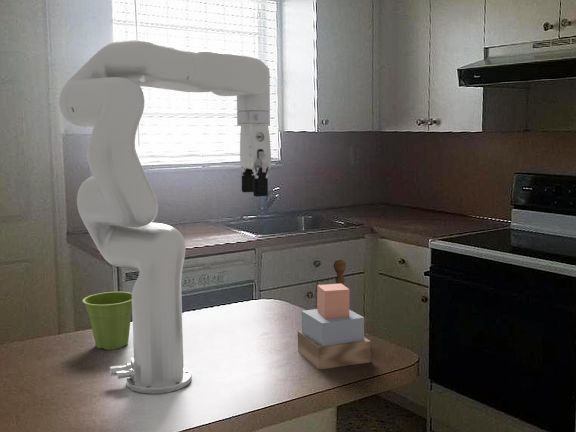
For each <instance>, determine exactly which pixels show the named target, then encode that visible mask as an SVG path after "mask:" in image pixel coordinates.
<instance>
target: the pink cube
mask: <svg viewBox="0 0 576 432" xmlns="http://www.w3.org/2000/svg"><path fill="white" fill-rule="evenodd" d="M316 287H317V289H316V290H317V291H316V293H317V294H316V296H317V297H316V299H317V300H316V305H317V306H316V309H317V312H318V313H319V314H320V315H321V316H322V317H323V318H324V319H330V318H342V317H349V310H350V300H351V299H350V293H351V290H350V289H349V287H347V286H345V284H344V285H343V284H336V283H329V284H326V283H325V284H318V285H316Z"/></svg>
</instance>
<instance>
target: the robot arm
mask: <svg viewBox="0 0 576 432" xmlns="http://www.w3.org/2000/svg"><path fill="white" fill-rule="evenodd" d="M270 74H271V73H270V69H269V66H268V65H266V63H264V62H263V61H262V60H261V59H259V58H256V57H252V56H247V55H243V54H235V53H229V52H228V53H227V52H221V51H220V52H218V51H212V50H208V49H196V48H195V49H194V48H189V47H184V46H180V45H176V44H171V43H166V42H162V41H157V40H154V39H153V40H152V39H134V40H133V39H132V40H124V41H115V42H111V43H108V44H106V45H105V46H103V47H102V48H100V49H99V50H98V51H97V52H96V53H94V54H93V55H92V56H91V57H90V59H89V60H87V61H86V62H85V63H84V65H83V66H81V67H80V68H79V69H78V70H77V71H76V72H75V73H74V74H73V75H72V76H71V77H70V78H69V79H68V80H67V81H66V82H65V84H64V85H63V86H62V87H61V90H60V92H59V97H58V107H59V110H60V113H61V114H62V117H63V118H64V119H65V120H66V121H68V122H69V123H70V124H72V125H74V126H76V127H83V128H85V127H87V128H89V127H91V128H92V127H93V128H92V131H91V134H90V138H89V142H88V144H87V149H86V159H87V164H88V168H89V170H90V172H91V175H92V176H89V177H87V179H85V180H84V181H83V182H82V183H81V184H80V186H79V188H78V191H77V195H76V196H77V197H76V206H77V211H78V214H79V217H80V218H81V221H82V222H83V225H84V227H85V228H86V230H87V232H88V233H89V235H90V238H91V239H92V240H93V242H94V244H95V246H96V248H97V249H98V252H99V253H100V254H101V256H102V257H103V258H104V260H105V261H106V262H107V263H108V264H109V265H112V266H114V267H117V268H122V269H127V270H132V271H136V272H139V273H138V276H137V279H136V281H135V283H134V284H133V288H132V291H131V293H132V312H131V319H132V342H133V357H130V362H126V363H125V364H123V365H118V364H117V365H113V366H109V375H110V377H117V379H118V380H119V379H126V386H127V388H129V389H130V390H132V391H134V392H137V393H141V394H164V393H165V394H166V393H170V392H174V391H175V392H176V391H178V390H180V389H183V388H185V387H186V386H188V385H189V384H190V383H191V381H192V379H193V377H192V372H191V371H190V370H189V369H188V368H186V367H185V366H184V345H183V343H184V340H183V339H184V338H183V306H182V305H183V304H182V301H183V299H182V280H183V279H182V278H183V277H182V276H183V268H184V264H185V259H186V252H187V251H186V250H187V249H186V241H185V238H184V236H183V235H182V233H181V232H180V231H179V229H177V228H175V227H174V226H171V225H169V224H165V223H159V222H153V221H154V220H155V219H156V218H157V215H158V214H159V213H158V212H159V204H158V199H157V195H156V194H155V192H154V189H153V187H152V184H151V183H150V181H149V178H148V176H147V174H146V172H145V169H144V168H143V165H142V164H141V162H140V159H139V157H138V154H137V151H136V143H135V141H136V135H137V130H138V126H139V124H140V121H141V119H142V116H143V113H144V109H145V95H144V91H143V89H142V88H141V87H145V88H155V89H163V90H169V91H177V92H183V93H210V92H211V93H212V94H214V95H216V96H220V97H236V124H237V126H238V127H239V126H240V132H239V133H240V135H239V137H240V138H239V161H240V166H241V172H240V173H241V193H253V197H255V198H256V197H267V196H268V195H269V187H268V186H269V183H268V182H269V181H268V180H269V179H268V178H269V175H268V174H269V173H268V172H269V169H271V168H272V153H271V151H272V150H271V136H270V129H269V127H270V126H271V97H270V96H271V94H270V93H271V92H270V91H271V87H270V86H271V85H270V84H271V82H270V81H271V79H270V78H271V75H270Z"/></svg>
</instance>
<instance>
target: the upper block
mask: <svg viewBox="0 0 576 432" xmlns="http://www.w3.org/2000/svg"><path fill="white" fill-rule="evenodd" d="M301 331H302V333H303V334H304V335H306V336H307V337H309V338H310V339H312V340H313V341H315V342H316V343H317V344H319V345H320V346H322V347H323V346H330V345H336V344H343V343H349V342H356V341H362V340H364V337H365V317H364V316H362V315H360V314H358V313H357V312H354V311H353V310H351V309H349V317H342V318H330V319H324V318H323V317H322V316H321V315H320V314H319V313H318V312H317V308H313V309H308V310H301Z"/></svg>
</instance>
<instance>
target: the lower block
mask: <svg viewBox="0 0 576 432" xmlns="http://www.w3.org/2000/svg"><path fill="white" fill-rule="evenodd" d="M371 345H372V341H371V340H370V339H369V338H367V337H365V336H364V340H362V341H356V342H349V343H343V344H336V345H330V346H323V347H322V346H320V345H319V344H317V343H316V342H315V341H313V340H312V339H310V338H309V337H307V336H306V335H304V334H303V333H302V330H298V331H297V352H298V353H300V354H301V355H302V356H303V358H305V359H306V361H308V362H309V363H311V364H312V365H313V366H314V368H316V369H317V370H324V369H333V368H339V367H340V368H341V367H346V366H353V365H359V364H367V363H371V354H372V353H371V352H372V346H371Z"/></svg>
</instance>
